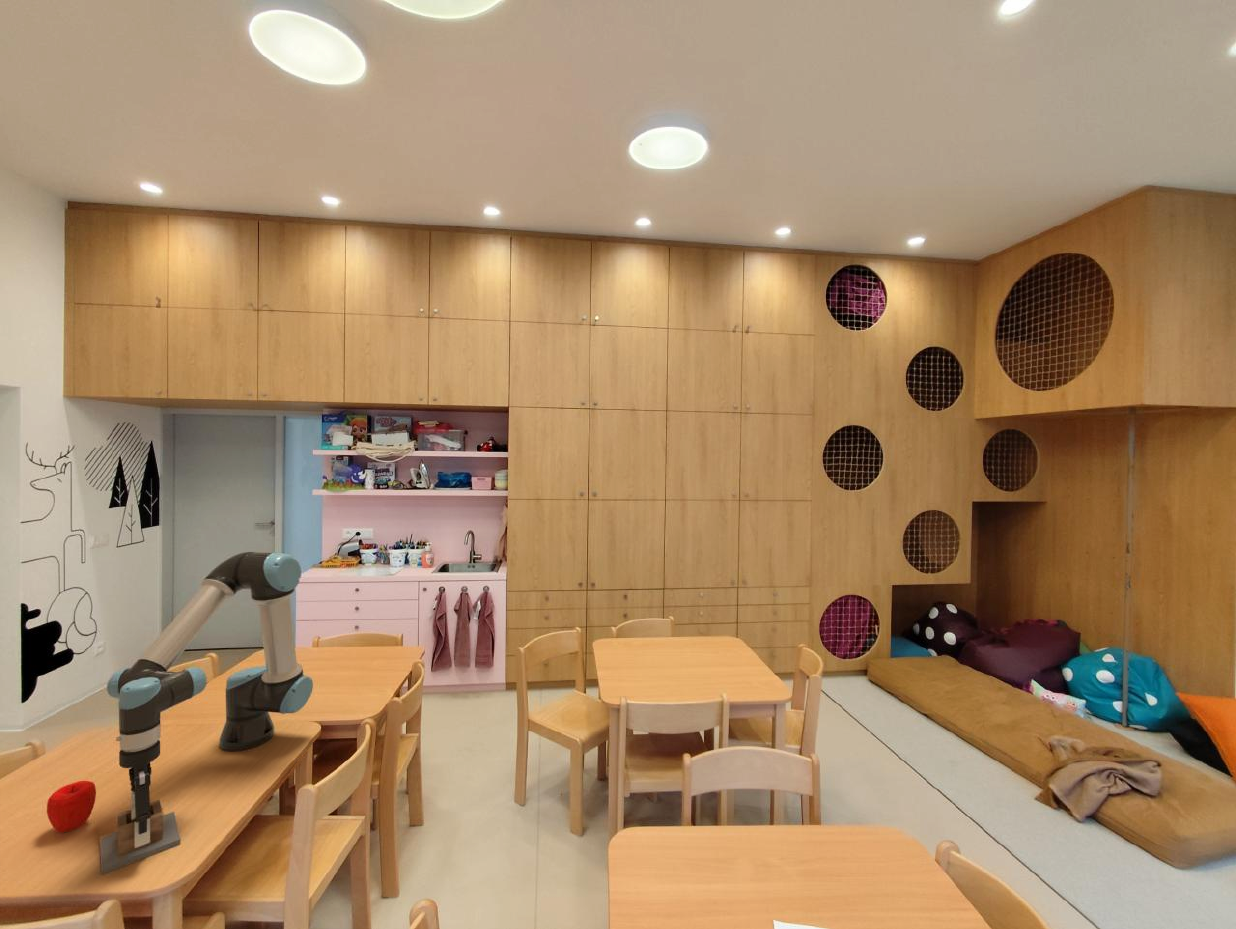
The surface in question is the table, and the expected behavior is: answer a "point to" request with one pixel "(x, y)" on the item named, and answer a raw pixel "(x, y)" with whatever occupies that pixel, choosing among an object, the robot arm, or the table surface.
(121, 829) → the frame
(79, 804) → the apple
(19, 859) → the table surface
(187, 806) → the table surface
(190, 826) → the table surface
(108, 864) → the stand
